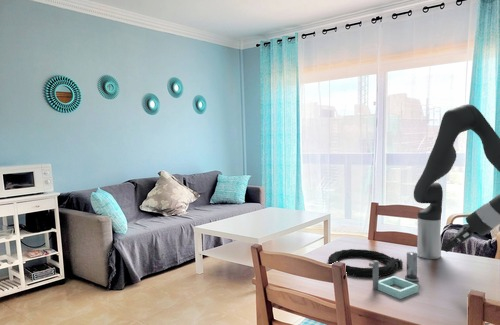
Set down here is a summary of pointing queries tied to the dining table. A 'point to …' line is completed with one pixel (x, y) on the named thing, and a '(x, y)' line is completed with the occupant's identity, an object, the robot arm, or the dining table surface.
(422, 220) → the robot arm
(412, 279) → the pin
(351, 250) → the cable lock
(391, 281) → the teal rectangular frame
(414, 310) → the dining table surface
